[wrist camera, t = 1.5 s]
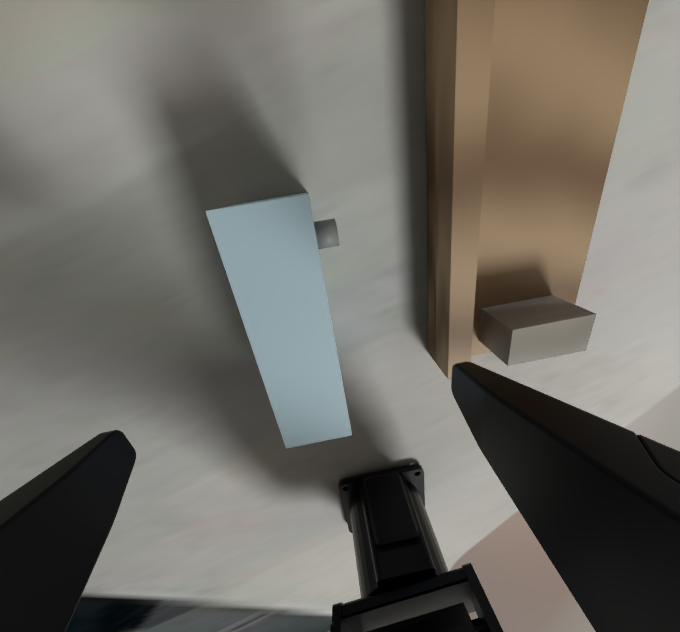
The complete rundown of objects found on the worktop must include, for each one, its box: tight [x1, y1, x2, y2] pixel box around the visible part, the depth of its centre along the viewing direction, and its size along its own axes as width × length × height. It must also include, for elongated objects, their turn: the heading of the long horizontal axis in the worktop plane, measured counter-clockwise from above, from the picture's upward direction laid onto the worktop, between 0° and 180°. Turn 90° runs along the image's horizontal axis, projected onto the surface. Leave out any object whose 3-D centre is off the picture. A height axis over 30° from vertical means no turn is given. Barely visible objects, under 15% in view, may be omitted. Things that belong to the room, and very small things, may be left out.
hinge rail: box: [425, 0, 649, 379], centre depth 11 cm, size 18×8×4 cm, turn 9°
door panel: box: [205, 192, 352, 449], centre depth 12 cm, size 10×4×5 cm, turn 8°
